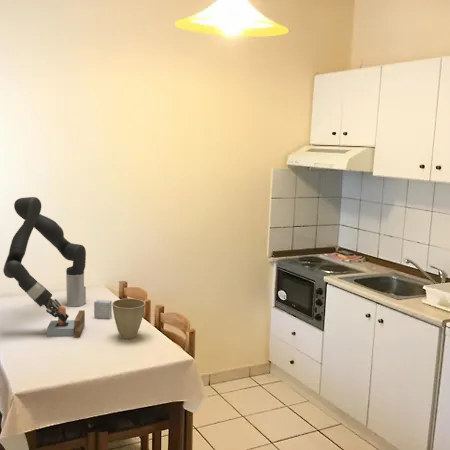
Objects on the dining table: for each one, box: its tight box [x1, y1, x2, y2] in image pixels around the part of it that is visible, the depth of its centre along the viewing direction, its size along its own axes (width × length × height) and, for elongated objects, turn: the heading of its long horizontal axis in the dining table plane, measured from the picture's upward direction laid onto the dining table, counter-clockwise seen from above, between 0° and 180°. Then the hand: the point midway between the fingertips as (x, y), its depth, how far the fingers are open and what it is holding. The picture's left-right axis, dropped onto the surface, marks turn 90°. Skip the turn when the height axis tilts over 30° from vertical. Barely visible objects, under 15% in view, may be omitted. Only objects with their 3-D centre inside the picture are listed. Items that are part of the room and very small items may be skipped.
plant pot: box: [112, 297, 146, 340], centre depth 260 cm, size 15×15×16 cm
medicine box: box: [93, 299, 113, 320], centre depth 286 cm, size 8×4×9 cm, turn 84°
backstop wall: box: [73, 310, 86, 339], centre depth 265 cm, size 2×15×8 cm, turn 6°
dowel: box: [57, 305, 67, 327], centre depth 263 cm, size 3×3×10 cm
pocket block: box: [46, 319, 75, 338], centre depth 264 cm, size 12×12×4 cm
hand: (66, 319), depth 264 cm, fingers closed on dowel, 3 cm apart
